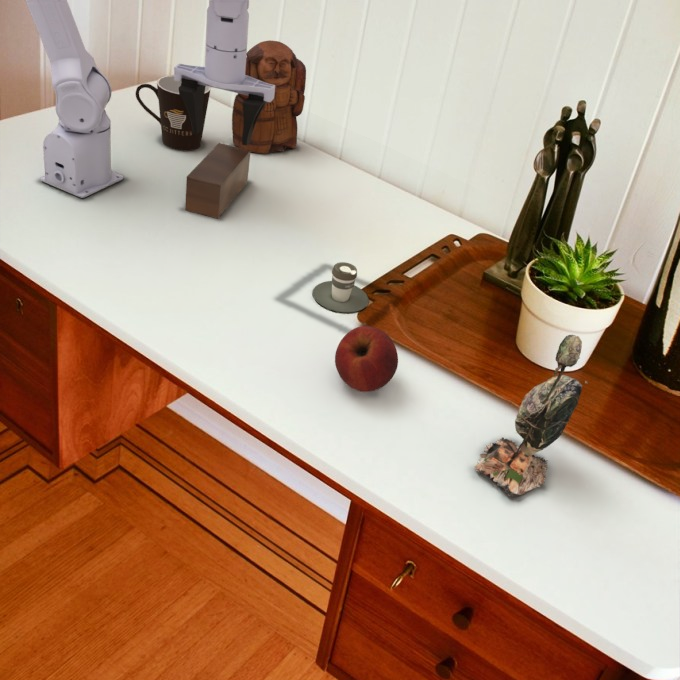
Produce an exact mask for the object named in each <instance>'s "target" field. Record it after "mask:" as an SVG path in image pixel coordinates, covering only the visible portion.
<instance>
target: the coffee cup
mask: <svg viewBox="0 0 680 680" xmlns="http://www.w3.org/2000/svg"><path fill="white" fill-rule="evenodd" d="M331 274H332V276H331V280H328V281H323V282H321V283H318V284H317V285H316V286H314V288H313V290H312V297H313V298H314V301H316V302H317V303H318V304H319V305H320V306H321V307H322V308H324V309H326V310H328V311H331V312H334V313H341V314H352V313H357V312H360V311H362V310H364V309H365V308H366V307H367V306H368V304H369V297H368V295H367V293H366V291H364V290H363V289H362V288H361V287H358V286H357V285H355V283H356V278H357V277H358V269H357V267H356V266H355V265H354V264H353V263H349V262H343V261H342V262H336V263H334V265H333V266H332V270H331Z"/></svg>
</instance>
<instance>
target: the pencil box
mask: <svg viewBox="0 0 680 680" xmlns="http://www.w3.org/2000/svg"><path fill="white" fill-rule="evenodd" d="M250 159H251V152H250V151H249V150H245V149H242V148H240V147H238V146H233V145H230V144H229V145H228V144H225V143H221V142H218V143H217V144H216V145H215V147H214V148H213V149H212V150H211V151H210V152H208V154H207V155H206V156H205V157H204V158H203V159H202V160H201V161H200V162H199V163H198V164H197V165H196V166H195V167H194V168H193V169H192V170H191V172H190V173H188V174H187V175H186V184H185V185H186V186H185V203H184V210H185V211H187V212H190V213H193V214H194V213H195V214H198V215H203V216H206V217H211V218H214V219H219V218H220V217H221V216H222V215H223V214H224V212H225V211H226V209H227V208H229V206H230V205H231V204H232V202H233V201H234V200H235V199H236V197H237V196H239V194H240V193H241V192H242V190H243V189H244V187H245V186H246V185H247V183H248V182H249V181H248V180H249V170H250V161H251V160H250Z"/></svg>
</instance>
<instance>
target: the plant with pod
mask: <svg viewBox="0 0 680 680" xmlns="http://www.w3.org/2000/svg"><path fill="white" fill-rule="evenodd" d="M582 344H583V341H582V340H581V338H580V336H578V335H576V334H568V335H566V336H564V337H563V339H562V340H561V342H560V343H559V346H558V349H557V352H556V354H555V361H556V363H557V366H556V367H555V370H554V373H553V376H552V377H551V378H548V379H546V380H545V381H543V382H542V383H540V384H536V385H535V386H533V387H532V389H531V390H530V391H528V392H527V393H526V394H525V395H524V397H523V399H522V401H521V404H520V406H519V407H518V410H517V414H516V418H515V419H514V427H515V432H516V433H517V434H518V435H519V436H520V438H522V441H521V443H520V444H519V446H518V445H517V444H516V442H515V441H513V440H510V439H508V438H505V437H501V438H499V439H497V440H496V441H495V442H490V443H489V444H488V445H485V448H484V450H483V452H484V453H480V454H479V456H480V459H478V462H477V463H476V465H474V468H475V470H476V472H477V473H478V472H479V474H484V475H485V476H488V475H489V479H490V480H491V479H492V478H493V479H492V481H493V482H495V483H497V484H496V486H498V487H500V488H501V489H503V491H504V493H506V494H507V496H509V497H515V498H516V497H520V496H521V495H524V494H526V493H527V492H530V491H531V490H533V489H537V488H541V486H542V485H544V483H545V481H546V479H547V477H546V471H547V470H548V468H547V467H548V461H549V460H546V459H545V458H544V457H541V456H537V455H535V454H537V453H539V452H541V451H542V450H544V449H546V448H548V447H550V446H551V445H552V444H553V443H554V442H556V441H557V440H558V439H559V438H560V437H561V436H562V434H563V432H564V431H565V429H566V426H567V425H568V423H569V422H570V419H571V417H572V415H573V413H574V412H575V410H576V408H577V407H578V405H579V400H580V396H581V395H582V390H583V384H581V382H580V381H579V380H578V379H577V378H573V377H572V376H569V375H565V374H564V372H565V370H566V368H567V367H569V368H572V367H574V366H575V365H577V363H578V362H579V361H578V360H579V359H581V358H580V356H581V353H582V347H583V345H582ZM559 370H560V371H559ZM558 372H559V373H558ZM584 383H585V384H586V385H587V384H588V383H589V382H588V381H587V380H585V381H584Z"/></svg>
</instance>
